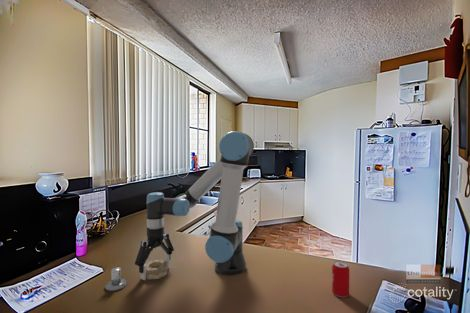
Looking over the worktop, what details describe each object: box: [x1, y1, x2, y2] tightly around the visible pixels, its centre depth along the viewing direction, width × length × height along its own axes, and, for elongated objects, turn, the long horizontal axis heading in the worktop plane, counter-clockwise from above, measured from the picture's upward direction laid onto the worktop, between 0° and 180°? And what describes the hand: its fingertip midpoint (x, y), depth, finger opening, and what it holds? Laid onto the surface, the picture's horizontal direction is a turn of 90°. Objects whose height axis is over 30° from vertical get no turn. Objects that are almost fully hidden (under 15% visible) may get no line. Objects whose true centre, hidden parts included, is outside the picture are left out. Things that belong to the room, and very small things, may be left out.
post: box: [104, 266, 128, 292], centre depth 102 cm, size 8×8×7 cm
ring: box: [145, 259, 168, 280], centre depth 113 cm, size 10×10×4 cm
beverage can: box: [331, 260, 350, 299], centre depth 96 cm, size 6×6×12 cm
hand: (155, 273), depth 113 cm, fingers open, 12 cm apart
